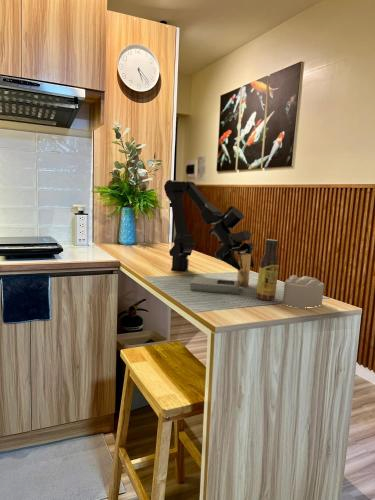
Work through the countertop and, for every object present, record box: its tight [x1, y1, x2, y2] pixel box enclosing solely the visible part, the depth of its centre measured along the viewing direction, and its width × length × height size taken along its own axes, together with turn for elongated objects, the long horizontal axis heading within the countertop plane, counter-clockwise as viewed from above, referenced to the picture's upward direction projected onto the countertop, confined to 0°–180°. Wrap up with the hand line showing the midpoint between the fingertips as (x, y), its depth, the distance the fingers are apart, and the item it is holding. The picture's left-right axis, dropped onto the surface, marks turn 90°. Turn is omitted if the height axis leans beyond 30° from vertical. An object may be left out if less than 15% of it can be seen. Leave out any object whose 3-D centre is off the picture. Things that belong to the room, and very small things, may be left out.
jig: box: [189, 276, 241, 295], centre depth 133 cm, size 17×10×2 cm, turn 80°
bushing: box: [236, 253, 251, 288], centre depth 140 cm, size 4×4×12 cm
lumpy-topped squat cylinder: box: [282, 274, 325, 309], centre depth 120 cm, size 10×13×9 cm
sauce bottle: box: [255, 238, 280, 301], centre depth 123 cm, size 6×6×20 cm
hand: (246, 268), depth 139 cm, fingers open, 9 cm apart
